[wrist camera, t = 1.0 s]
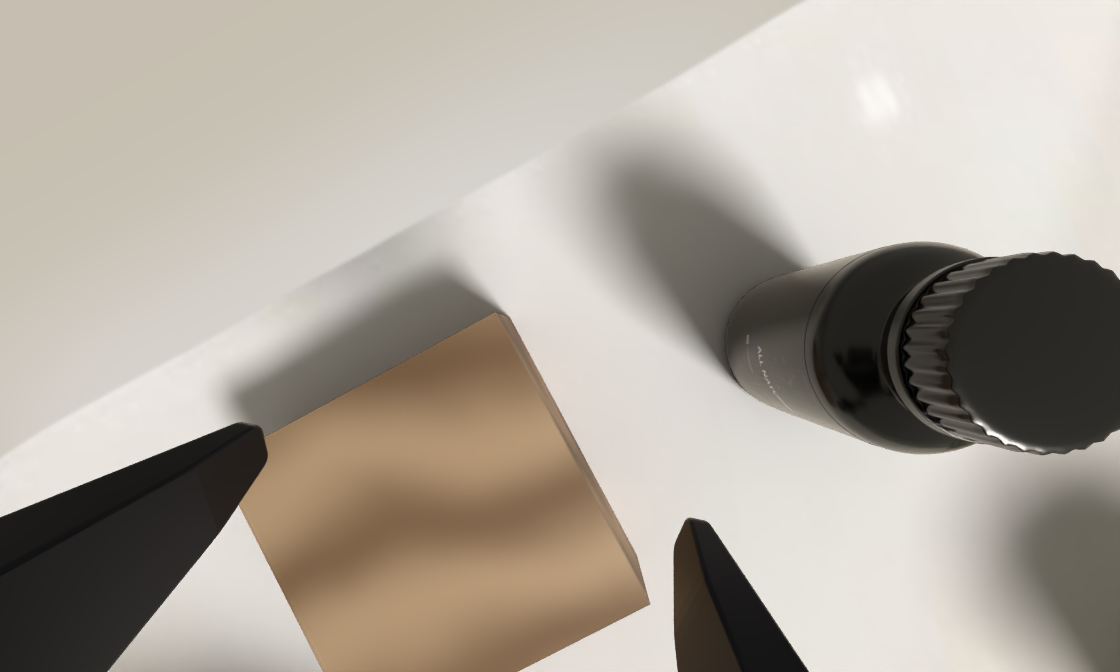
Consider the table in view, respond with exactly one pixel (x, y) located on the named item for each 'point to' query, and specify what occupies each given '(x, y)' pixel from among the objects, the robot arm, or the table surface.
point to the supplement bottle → (938, 348)
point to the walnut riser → (442, 518)
